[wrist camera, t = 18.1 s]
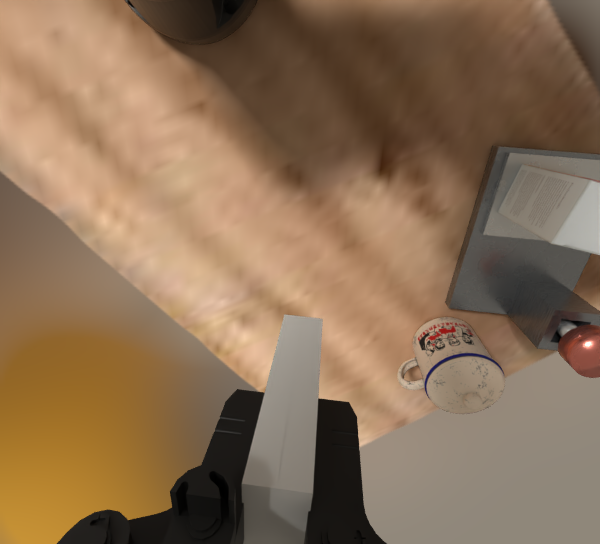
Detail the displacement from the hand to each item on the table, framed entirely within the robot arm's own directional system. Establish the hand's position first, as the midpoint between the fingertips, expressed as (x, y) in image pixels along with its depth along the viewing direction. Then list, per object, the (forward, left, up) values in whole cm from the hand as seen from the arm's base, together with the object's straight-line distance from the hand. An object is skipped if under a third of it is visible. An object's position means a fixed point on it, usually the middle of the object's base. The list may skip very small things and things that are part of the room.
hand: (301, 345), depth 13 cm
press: (+3, +25, -29) cm, 39 cm away
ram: (+10, +28, -27) cm, 40 cm away
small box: (-2, +24, -28) cm, 37 cm away
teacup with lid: (+20, +18, -30) cm, 40 cm away
